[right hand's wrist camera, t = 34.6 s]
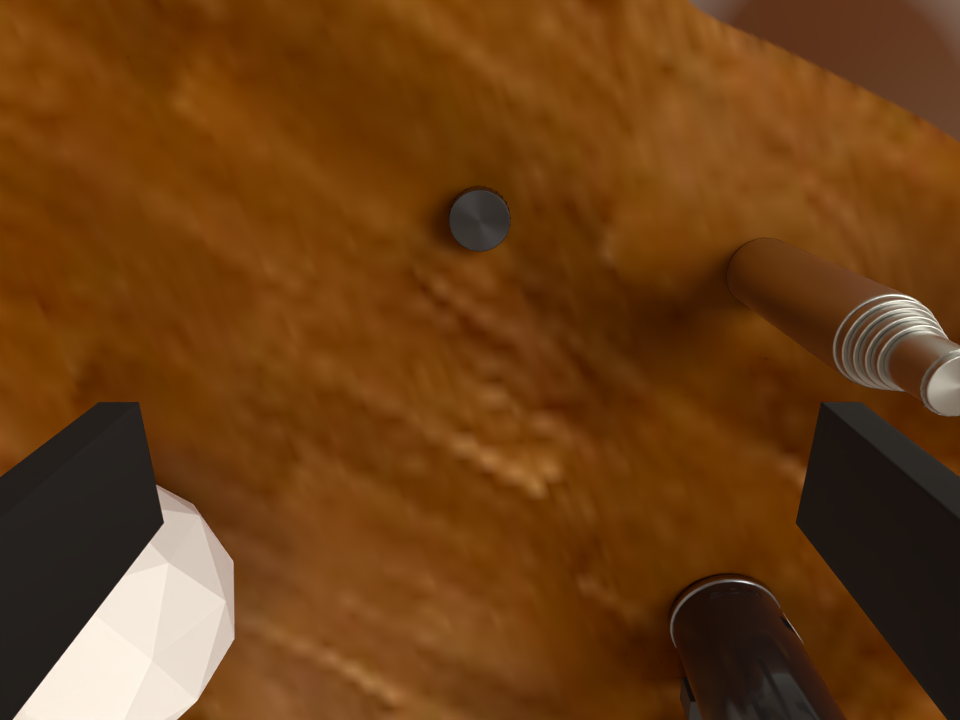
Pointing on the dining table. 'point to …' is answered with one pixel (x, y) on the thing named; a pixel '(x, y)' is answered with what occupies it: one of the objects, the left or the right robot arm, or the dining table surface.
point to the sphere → (149, 631)
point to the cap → (479, 218)
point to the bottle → (850, 322)
